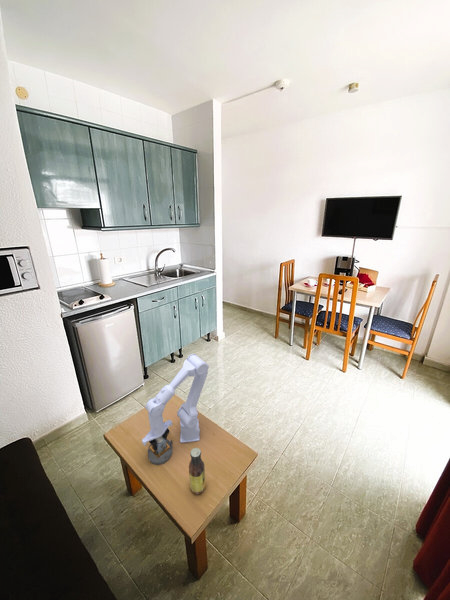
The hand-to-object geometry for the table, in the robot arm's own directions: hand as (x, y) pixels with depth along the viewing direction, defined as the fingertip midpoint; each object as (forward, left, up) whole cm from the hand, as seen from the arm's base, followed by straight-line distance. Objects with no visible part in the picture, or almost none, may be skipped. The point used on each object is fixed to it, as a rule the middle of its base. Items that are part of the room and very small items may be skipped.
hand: (159, 445), depth 112 cm
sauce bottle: (-17, +17, -6) cm, 25 cm away
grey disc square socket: (0, 0, -5) cm, 5 cm away
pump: (0, 0, -2) cm, 2 cm away
